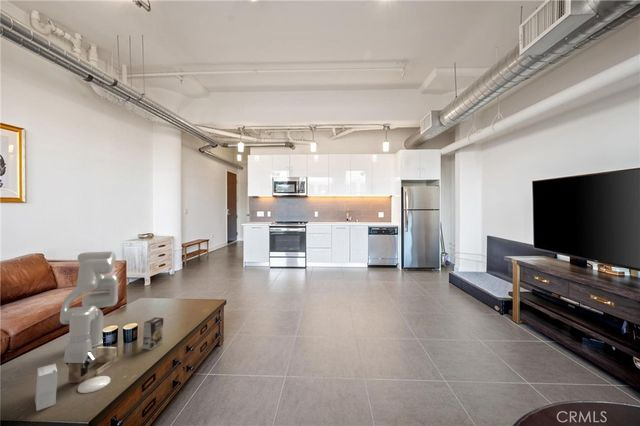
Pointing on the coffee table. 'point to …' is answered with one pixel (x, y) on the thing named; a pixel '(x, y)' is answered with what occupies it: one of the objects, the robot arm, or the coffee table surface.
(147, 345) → the coffee box
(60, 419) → the coffee table surface
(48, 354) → the coffee table surface
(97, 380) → the ceramic coaster
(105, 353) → the birch slot
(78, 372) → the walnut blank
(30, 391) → the coffee table surface
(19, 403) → the coffee table surface
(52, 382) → the skincare box
